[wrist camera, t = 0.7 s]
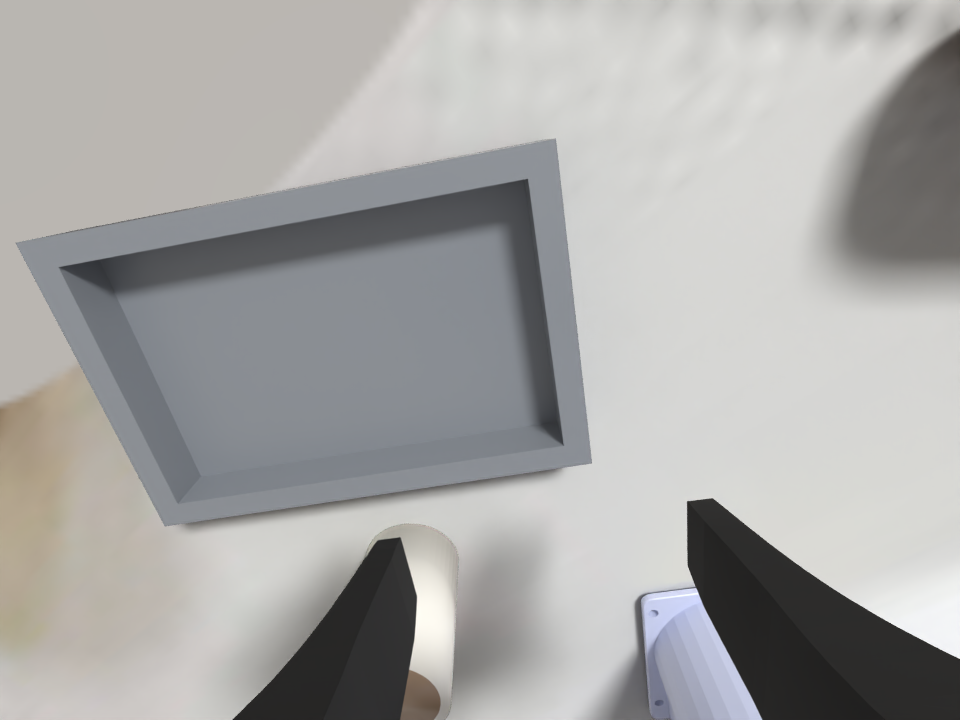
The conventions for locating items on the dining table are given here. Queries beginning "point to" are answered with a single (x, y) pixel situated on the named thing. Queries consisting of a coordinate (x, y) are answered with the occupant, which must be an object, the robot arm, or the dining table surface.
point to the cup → (429, 619)
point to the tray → (332, 335)
